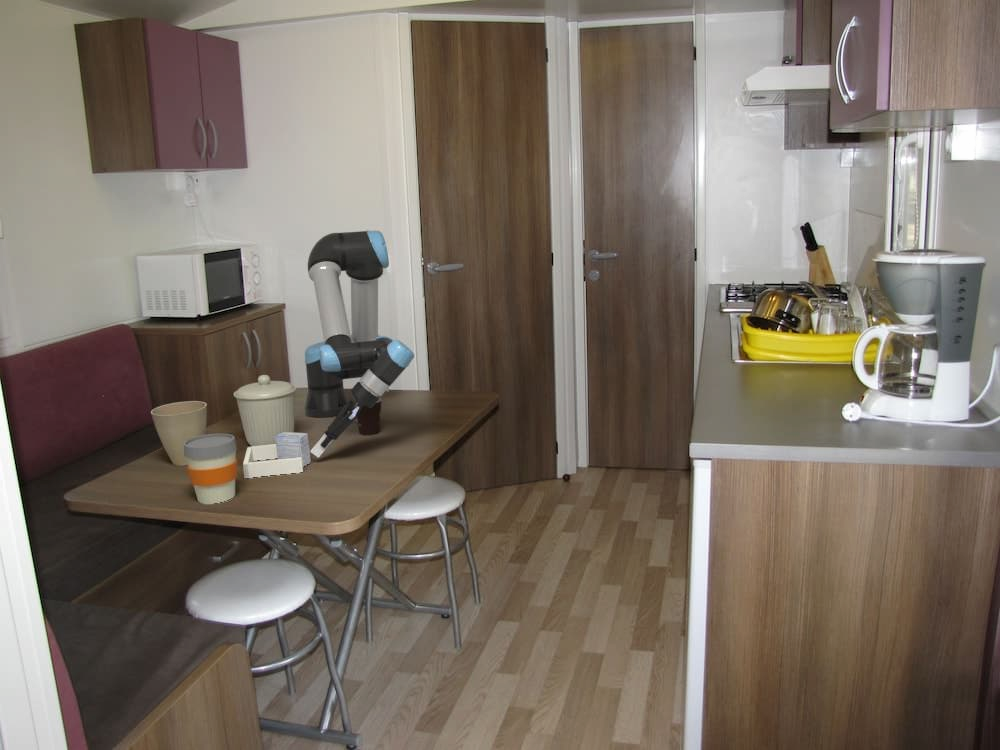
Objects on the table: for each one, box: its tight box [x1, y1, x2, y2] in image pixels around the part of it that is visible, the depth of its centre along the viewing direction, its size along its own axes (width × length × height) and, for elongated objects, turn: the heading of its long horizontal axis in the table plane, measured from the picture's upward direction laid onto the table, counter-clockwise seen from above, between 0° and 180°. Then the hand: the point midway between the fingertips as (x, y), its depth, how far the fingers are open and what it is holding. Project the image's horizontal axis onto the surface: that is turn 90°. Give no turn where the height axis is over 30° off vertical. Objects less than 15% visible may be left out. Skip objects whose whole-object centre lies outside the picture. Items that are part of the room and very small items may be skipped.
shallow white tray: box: [242, 444, 304, 479], centre depth 250 cm, size 16×15×4 cm
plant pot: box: [150, 400, 208, 467], centre depth 256 cm, size 15×15×16 cm
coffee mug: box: [355, 397, 382, 436], centre depth 279 cm, size 12×9×10 cm
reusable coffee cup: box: [184, 432, 238, 505], centre depth 226 cm, size 13×13×15 cm
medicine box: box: [275, 432, 312, 468], centre depth 250 cm, size 8×4×9 cm, turn 70°
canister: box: [233, 374, 297, 447], centre depth 269 cm, size 18×18×21 cm
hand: (314, 454), depth 250 cm, fingers closed
